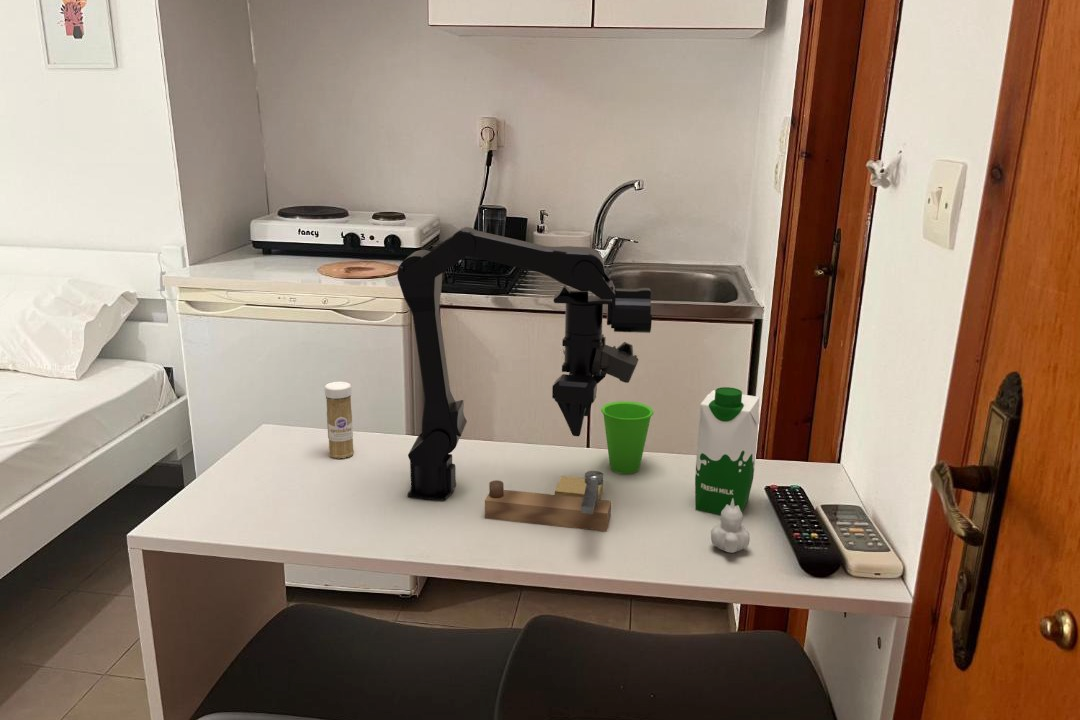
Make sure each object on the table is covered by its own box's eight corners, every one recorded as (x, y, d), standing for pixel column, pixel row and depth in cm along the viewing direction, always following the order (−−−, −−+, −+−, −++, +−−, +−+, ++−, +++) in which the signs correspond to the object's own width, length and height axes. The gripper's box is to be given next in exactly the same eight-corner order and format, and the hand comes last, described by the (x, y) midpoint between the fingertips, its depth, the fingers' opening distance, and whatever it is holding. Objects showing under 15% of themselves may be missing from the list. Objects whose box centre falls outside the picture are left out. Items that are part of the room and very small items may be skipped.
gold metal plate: (554, 505, 137) (554, 491, 136) (561, 489, 143) (561, 476, 142) (597, 509, 136) (597, 495, 135) (602, 493, 141) (603, 480, 140)
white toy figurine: (746, 542, 125) (751, 492, 123) (749, 564, 119) (754, 512, 117) (709, 538, 126) (713, 489, 124) (710, 560, 120) (714, 509, 118)
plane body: (484, 518, 131) (484, 478, 130) (492, 505, 136) (491, 467, 134) (606, 531, 128) (608, 491, 126) (610, 518, 132) (612, 479, 130)
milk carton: (688, 511, 135) (696, 391, 129) (702, 489, 143) (710, 375, 137) (743, 522, 131) (754, 400, 125) (755, 499, 139) (766, 383, 133)
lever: (597, 514, 118) (597, 507, 117) (577, 513, 118) (577, 505, 118) (603, 478, 129) (604, 471, 129) (585, 477, 130) (585, 470, 129)
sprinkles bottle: (334, 461, 152) (330, 390, 148) (325, 453, 155) (320, 383, 151) (358, 456, 154) (355, 385, 150) (348, 448, 158) (344, 379, 154)
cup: (648, 481, 145) (651, 420, 142) (595, 476, 147) (597, 416, 144) (652, 460, 154) (655, 403, 151) (602, 456, 156) (604, 399, 152)
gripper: (629, 350, 121) (624, 452, 125) (641, 320, 138) (637, 410, 143) (552, 345, 123) (550, 445, 127) (574, 315, 140) (571, 405, 145)
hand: (581, 425), depth 135 cm, fingers open, 9 cm apart
